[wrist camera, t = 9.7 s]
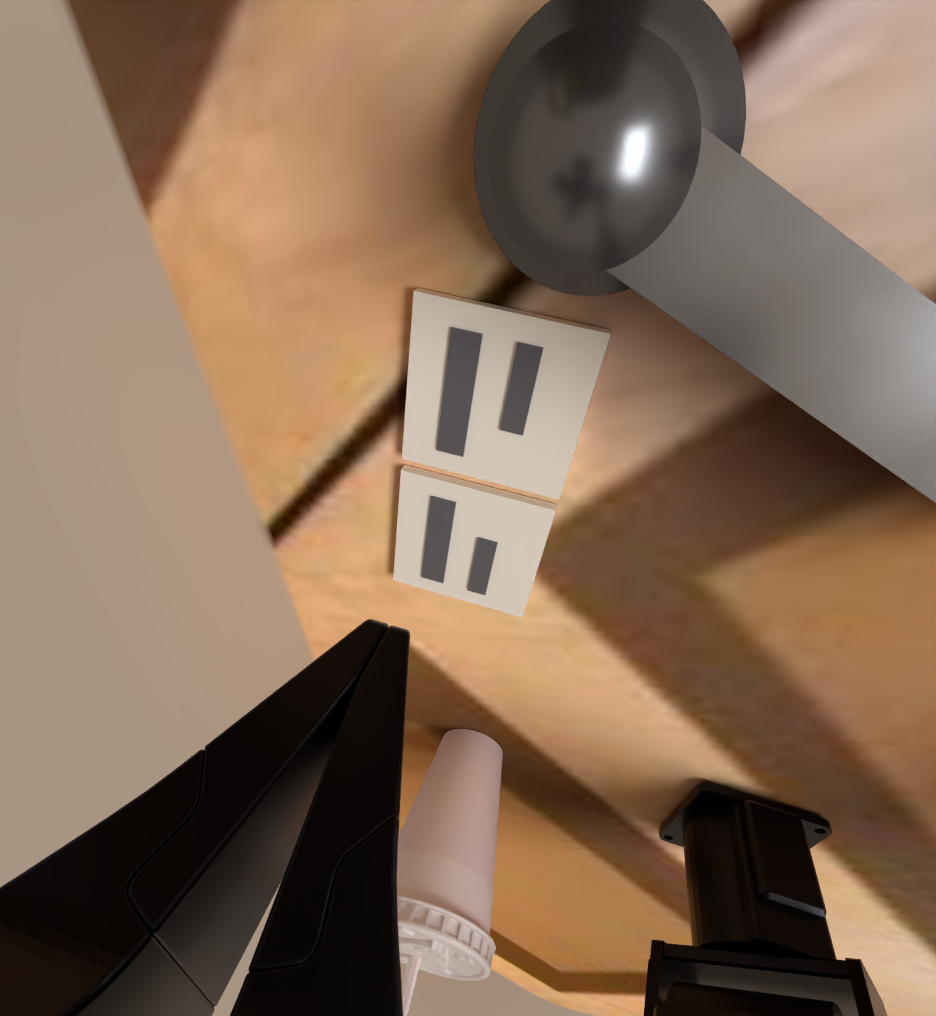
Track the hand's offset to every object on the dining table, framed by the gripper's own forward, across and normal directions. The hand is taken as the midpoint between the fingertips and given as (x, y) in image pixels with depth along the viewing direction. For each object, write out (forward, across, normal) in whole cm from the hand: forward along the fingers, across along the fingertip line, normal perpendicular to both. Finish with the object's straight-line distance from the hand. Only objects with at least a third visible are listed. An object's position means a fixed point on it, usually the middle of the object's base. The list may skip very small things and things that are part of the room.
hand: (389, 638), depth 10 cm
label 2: (+10, 0, +6) cm, 11 cm away
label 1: (+10, 0, -1) cm, 10 cm away
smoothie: (+10, -2, +21) cm, 24 cm away
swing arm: (+8, -8, -5) cm, 13 cm away
